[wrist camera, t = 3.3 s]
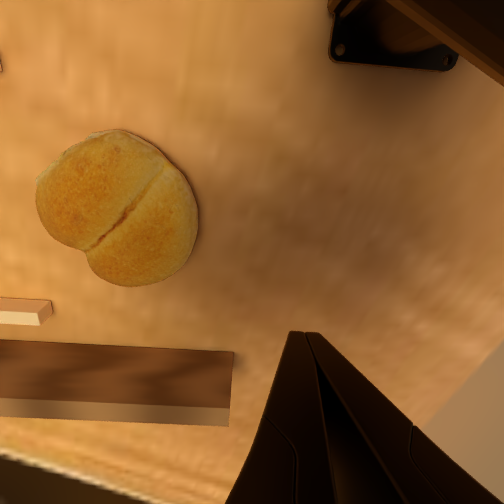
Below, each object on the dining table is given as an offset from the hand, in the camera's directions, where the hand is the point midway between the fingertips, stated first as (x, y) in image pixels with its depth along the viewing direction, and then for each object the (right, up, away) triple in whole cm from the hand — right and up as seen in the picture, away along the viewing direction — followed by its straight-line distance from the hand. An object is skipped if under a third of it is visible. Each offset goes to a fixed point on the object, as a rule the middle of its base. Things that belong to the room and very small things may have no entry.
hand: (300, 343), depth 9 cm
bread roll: (-9, +5, +11) cm, 15 cm away
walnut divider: (-14, -5, +15) cm, 21 cm away
